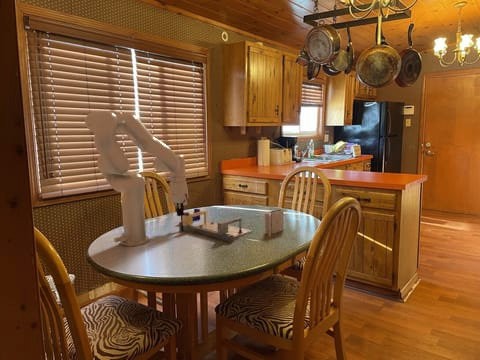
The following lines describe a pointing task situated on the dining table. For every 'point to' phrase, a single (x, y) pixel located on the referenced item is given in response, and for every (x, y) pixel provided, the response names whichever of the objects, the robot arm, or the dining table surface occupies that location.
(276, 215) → the hinge
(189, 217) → the sliding leg
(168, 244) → the dining table surface
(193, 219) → the cable clip
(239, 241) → the dining table surface
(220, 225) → the fixed leg
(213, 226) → the bolt plate
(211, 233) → the rail
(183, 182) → the robot arm
